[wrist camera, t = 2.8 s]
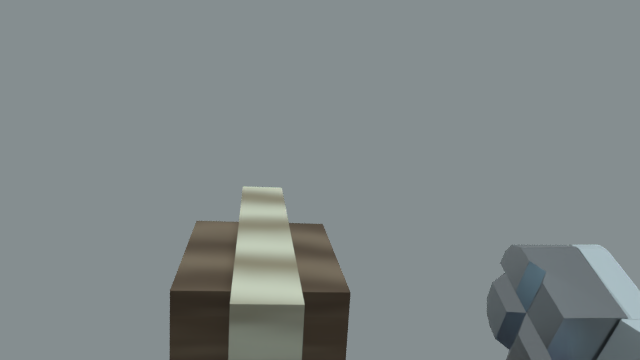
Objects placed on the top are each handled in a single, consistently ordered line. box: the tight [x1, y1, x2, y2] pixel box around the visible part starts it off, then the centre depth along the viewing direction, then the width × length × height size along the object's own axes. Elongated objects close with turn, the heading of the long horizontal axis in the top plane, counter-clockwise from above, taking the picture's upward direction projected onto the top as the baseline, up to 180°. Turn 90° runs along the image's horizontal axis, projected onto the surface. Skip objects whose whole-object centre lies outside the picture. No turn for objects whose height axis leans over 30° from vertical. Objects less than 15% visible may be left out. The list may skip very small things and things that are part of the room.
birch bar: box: [228, 187, 305, 360], centre depth 34 cm, size 22×3×3 cm, turn 6°
